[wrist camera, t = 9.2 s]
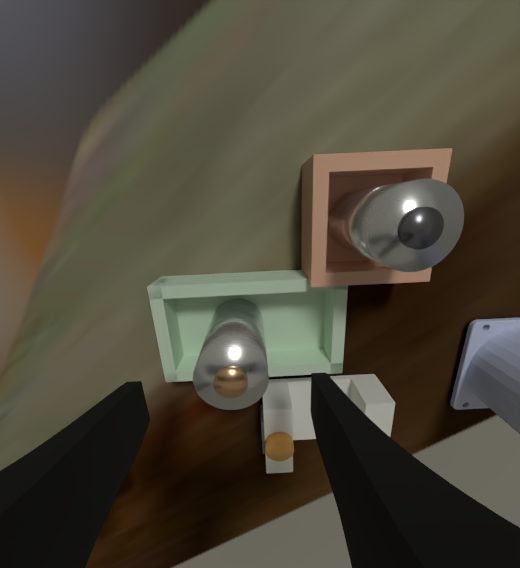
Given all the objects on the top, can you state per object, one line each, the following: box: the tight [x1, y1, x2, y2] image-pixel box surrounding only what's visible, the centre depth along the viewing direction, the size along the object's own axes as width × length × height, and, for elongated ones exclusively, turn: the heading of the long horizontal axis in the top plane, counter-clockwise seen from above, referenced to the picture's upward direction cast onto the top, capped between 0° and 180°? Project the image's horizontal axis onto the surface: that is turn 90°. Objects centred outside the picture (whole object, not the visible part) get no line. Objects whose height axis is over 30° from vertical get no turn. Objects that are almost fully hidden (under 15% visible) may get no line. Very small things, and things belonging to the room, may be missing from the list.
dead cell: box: [328, 179, 464, 272], centre depth 12 cm, size 4×4×6 cm
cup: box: [301, 148, 452, 287], centre depth 14 cm, size 7×7×3 cm
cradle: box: [261, 374, 395, 473], centre depth 18 cm, size 9×6×4 cm, turn 93°
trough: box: [147, 270, 348, 382], centre depth 16 cm, size 12×7×2 cm, turn 93°
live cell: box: [193, 298, 269, 410], centre depth 14 cm, size 4×4×6 cm
